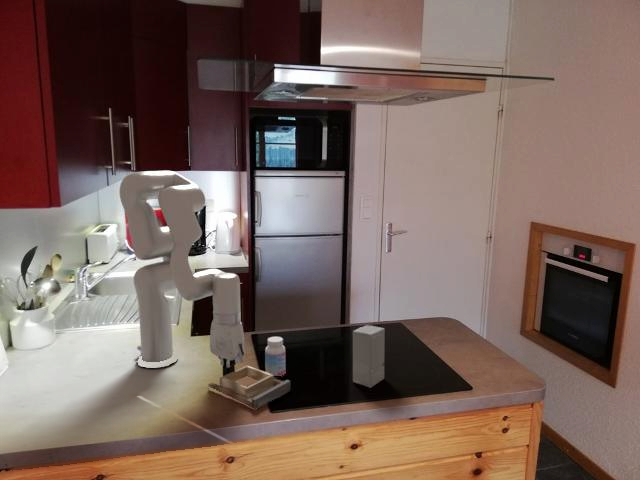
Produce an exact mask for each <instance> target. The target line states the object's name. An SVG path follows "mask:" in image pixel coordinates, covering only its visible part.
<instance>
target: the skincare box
mask: <svg viewBox="0 0 640 480" xmlns="http://www.w3.org/2000/svg"><path fill="white" fill-rule="evenodd" d="M385 332H386V331H385V327H378V326H374V325H370V324H366V325H364V326H360V327H358V328H356V329H354V330H352V382H353V383H355V384H358V385H361V386H364V387H367V388H369V389H371V388H372V387H374V386H376V385H377V384H379V383H380V382H382V381H383V380H384V379H385V335H386V334H385Z"/></svg>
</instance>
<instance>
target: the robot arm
mask: <svg viewBox="0 0 640 480" xmlns="http://www.w3.org/2000/svg"><path fill="white" fill-rule="evenodd" d="M119 197H120V202H121V205H122V207H123V211H124V212H125V213H124V214H125V215H126V219H127V224H128V230H129V235H130V240H131V241H130V242H131V247H132V250H133V254H134V255H135V257H136V259H138V260H139V261H151V260H156V259H161V258H162V261H158V262H153V263H149V264H146V265H143V266H142V267H140V268H138V269H137V270H136V271H135V272H134V275H133V286H134V289H135V293H136V297H137V304H138V316H139V331H140V334H139V335H140V345H138V346H137V347H136V349H137V350H138V351H140V356H142V360H143V361H146V362H160V361H164V360H167V359H169V358H171V357H172V355H173V352H174V351H173V349H174V347H173V325H172V324H173V323H172V307H171V304H170V302H169V300H168V298H167V296H166V295H165V293H166V292H169V291H173V290H177V292H178V293H179V295H180V296H181V297H182V298H183V299H185V301H189V302H195V301H198V300H201V299H204V298H207V297H211V296H212V306H213V307H212V308H213V311H212V314H213V320H212V321H211V325H210V333H209V334H210V336H209V349H210V350H209V351H210V353H211V354H213V355H214V356H216V357H218V360H220V365H221V366H222V377H223V376H225V375H227V374H229V373H231V372H234V371H236V370H235V367H236V365H237V364H241V363H243V362H244V359H243V356H245V349H246V345H245V335H244V334H245V333H244V329H243V322H242V321H241V319H242V318H241V316H242V315H241V314H242V313H241V281H240V277H239V275H238V274H237V273H234V272H225V271H223V270H220V269H217V268H208V269H204V270H200V271H199V270H198V271H196V272H195V271H194V272H193V271H192V269H191V267H190V263H189V253H190V250H191V248H192V246H193V245H194V243H196V242H197V241H198V240H199V239H200V238H201V237H202V236H203V231H202V230H203V229H202V228H201V226H200V223H199V220H198V218H197V216H196V213H197V212H200V211H202V210H203V209H204V207H205V205H206V196H205V193H204V192H203V190H202V189H201V188H200V186H199V185H197V184H196V183H195V182H193V181H191V180H189V179H187V178H185V177H184V176H183V175H180V174H179V173H177V172H176V171H172V170H146V171H145V170H144V171H143V170H142V171H135V172H132V173H129V174H127V175H126V176H125V177H124V178H123V179H122V180H121V182H120V185H119ZM148 200H157V202H158V205H159V208H160V210H161V213H162V215H163V219H164V220H165V223H166V225H165V226H159V223H158V218H157V215H156V211H155V210H154V208H153V207H152V206H151V204H150V203H149V202H148Z"/></svg>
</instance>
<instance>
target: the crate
mask: <svg viewBox="0 0 640 480" xmlns="http://www.w3.org/2000/svg"><path fill="white" fill-rule="evenodd" d="M246 376H248V377H251V378H253V379H255V380H258V382H256V383H254V384H252V385H250V386H248V387H246V386H243V385H241V384H238V383H236V382H235V381H237V380H239V379H242V378H244V377H246ZM274 378H275V377H274V375H272V374H270V373H267V372H265V371H264V370H261V369H258V368H256V367H252V366H251V365H247V364H246V365H244V366H243V367H240V368H238V369H236V370H235V371H234V372H231V373H229V374H227V375H225V376H223V375H222V376H220V377H219V386H221V387H224V388H226V389H229V390H231V391H233V392H236V393H238V394H241V395H243V396H245V397H248V398H250V399H251V398H253V397H255V396H257V395H259V394H261V393H263V392H265V391H267V390H269V389H271V388H272V387H274Z"/></svg>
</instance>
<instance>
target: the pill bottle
mask: <svg viewBox="0 0 640 480" xmlns="http://www.w3.org/2000/svg"><path fill="white" fill-rule="evenodd" d="M264 351H265V352H264V356H265V357H264V358H265V361H264V363H265V364H264V367H265V371H264V372H267V373H270V374H272V375H274V376H281V377H283V376H285V375H286V372H287V371H286V370H287V369H286V364H287V363H286V361H287V360H286V347H285V346H284V338H282V337H281V336H271V337H268V338H267V346H266V347H265V349H264ZM284 374H285V375H284ZM282 375H283V376H282Z"/></svg>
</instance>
